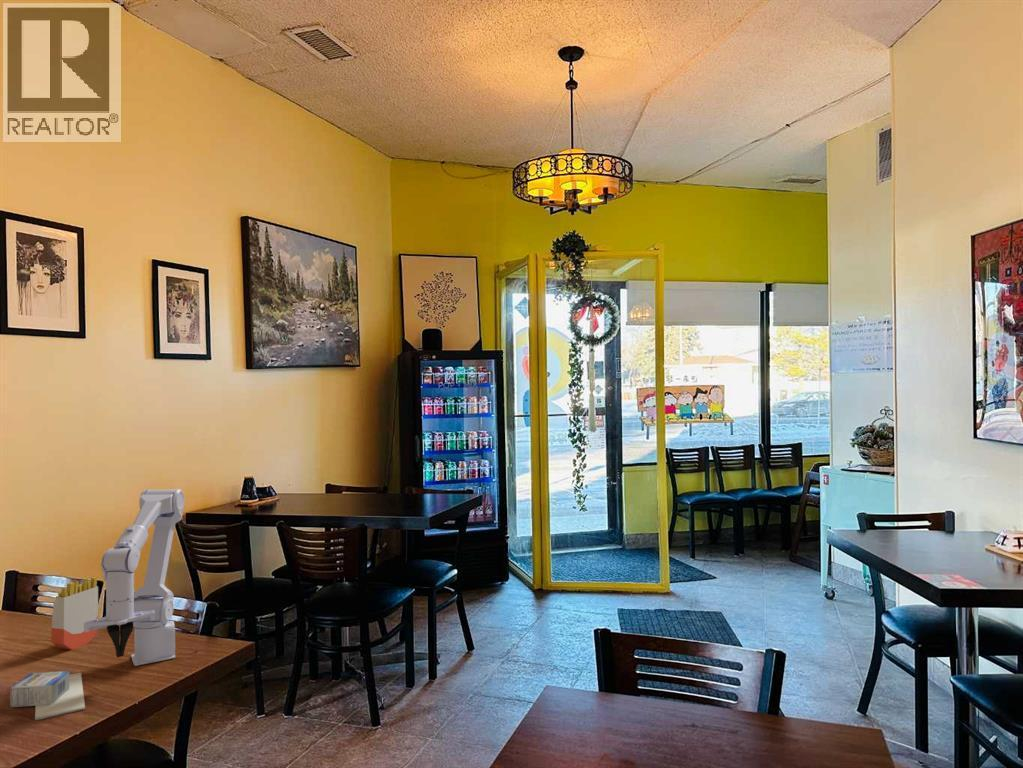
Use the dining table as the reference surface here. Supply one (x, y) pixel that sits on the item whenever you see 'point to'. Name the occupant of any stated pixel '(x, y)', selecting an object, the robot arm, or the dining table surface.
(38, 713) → the cream flat slab
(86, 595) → the french fries container
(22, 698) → the medicine box
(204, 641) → the dining table surface
